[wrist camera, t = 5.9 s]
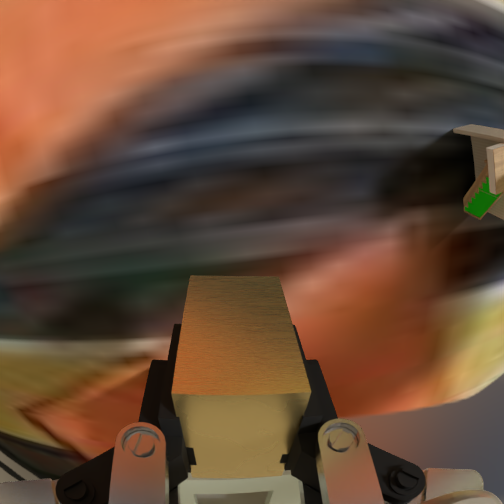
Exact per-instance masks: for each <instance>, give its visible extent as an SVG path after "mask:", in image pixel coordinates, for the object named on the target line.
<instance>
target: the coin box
mask: <svg viewBox="0 0 504 504" xmlns="http://www.w3.org/2000/svg"><path fill="white" fill-rule="evenodd" d="M180 504H301V499H300V491H299V482H298V479H297V478H295V477H293V476H292V475H291V470H286V471H285V469H284V471H283V474H282V476H273V477H258V478H192V475H191V473H188V478H187V479H186V480H185V481H183V482H182V483H180Z"/></svg>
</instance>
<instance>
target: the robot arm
mask: <svg viewBox="0 0 504 504" xmlns="http://www.w3.org/2000/svg"><path fill="white" fill-rule="evenodd" d="M181 326H182V324H174V328H173V333H172V339H171V344H170V349H169V355H168V360H152V362H151V365H150V370H149V374H148V379H147V383H146V388H145V392H144V397H143V402H142V407H141V412H140V417H139V422H136V423H132V424H129V425H127V426H125V427H124V428H122V429H121V431H120V432H119V433H118V435H117V438H116V442H115V447H113V448H111V449H110V450H108V451H106V452H104V453H103V454H101V455H99V456H97V457H95V458H94V459H92V460H90V461H88V462H86V463H84V464H83V465H81V466H79V467H77V468H75V469H73V470H71V471H69V472H67V473H65V474H64V475H63V476H61V477H60V478H59V480H51V479H50V478H48V479H39V480H28V481H15V482H3V483H0V504H180V483H182V482H183V481H185V480H186V479H187V478H188V473H191V466H190V465H197V464H196V459H195V454H194V449H193V448H190V447H186V446H185V441H184V437H183V432H182V427H181V423H180V418H179V417H176V412H175V408H174V403H173V398H172V394H171V393H172V386H173V378H174V371H175V364H176V358H177V351H178V345H179V338H180V332H181ZM293 328H294V331H295V335H296V339H297V342H298V346H299V349H300V353H301V356H302V360H303V363H304V367H305V370H306V374H307V378H308V381H309V385H310V389H311V394H310V398H309V401H308V404H307V407H306V410H305V413H304V415H303V416H302V419H301V422H300V425H299V428H298V431H297V433H296V436H295V439H294V442H293V445H292V448H291V451H290V454H282V457H281V460H280V463H286V464H285V466H284V469H285V471H286V470H291V475H292V476H293V477H295V478H297V479H298V482H299V491H300V499H301V504H502V502H501V501H500V500H499V498H498V497H496V496H495V495H494V494H492V493H491V492H488V491H484V490H483V480H482V477H481V475H480V474H479V473H478V472H476V471H474V470H470V469H438V468H427V469H426V470H421V469H420V468H419V467H418V466H416V465H415V464H413V463H410V462H408V461H406V460H404V459H401V458H399V457H397V456H395V455H392V454H390V453H388V452H386V451H384V450H381V449H379V448H377V447H375V446H373V445H371V444H369V443H367V440H366V437H365V434H364V432H363V430H362V428H361V427H360V426H359V425H357V424H356V423H354V422H352V421H350V420H347V419H338V417H337V414H336V411H335V408H334V406H333V403H332V400H331V397H330V394H329V391H328V388H327V385H326V382H325V380H324V377H323V374H322V371H321V368H320V365H319V363H318V361H317V360H306V358H305V355H304V352H303V349H302V345H301V342H300V339H299V336H298V333H297V330H296V327H295V325H293Z"/></svg>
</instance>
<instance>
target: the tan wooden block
mask: <svg viewBox="0 0 504 504" xmlns="http://www.w3.org/2000/svg"><path fill="white" fill-rule="evenodd" d="M171 394H172V398H173V403H174V408H175V412H176V417H179V418H180V423H181V427H182V432H183V437H184V441H185V446H186V447H190V448H193V449H194V454H195V459H196V464H197V465H190V466H191V475H192V478H258V477H273V476H282V474H283V471H284V466H285V464H286V463H280V460H281V457H282V454H290V451H291V448H292V445H293V442H294V439H295V436H296V433H297V431H298V428H299V425H300V422H301V419H302V416H303V415H304V413H305V410H306V407H307V404H308V401H309V398H310V394H311V389H310V385H309V381H308V378H307V374H306V370H305V367H304V363H303V360H302V356H301V353H300V349H299V346H298V342H297V339H296V335H295V331H294V328H293V324H292V321H291V318H290V314H289V311H288V307H287V304H286V300H285V297H284V293H283V290H282V287H281V283H280V280H279V277H256V276H195V275H190V281H189V286H188V291H187V297H186V303H185V308H184V314H183V320H182V326H181V332H180V338H179V345H178V351H177V358H176V364H175V371H174V378H173V386H172V393H171Z"/></svg>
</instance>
